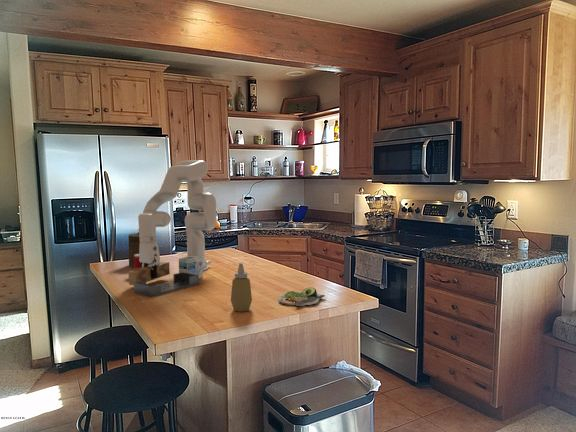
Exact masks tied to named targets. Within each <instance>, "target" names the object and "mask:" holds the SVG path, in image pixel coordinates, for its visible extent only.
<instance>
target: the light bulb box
mask: <svg viewBox="0 0 576 432" xmlns="http://www.w3.org/2000/svg"><path fill="white" fill-rule="evenodd" d="M181 272H184V273H190V274H195V275H199V279H201V278H203V277H204V276H203V275H204V274H203V272H204V271H203V257H200V256H194V255H193V256H189V257H187V256H185V257H179V258H178V273H181Z"/></svg>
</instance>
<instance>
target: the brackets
mask: <svg viewBox="0 0 576 432" xmlns="http://www.w3.org/2000/svg"><path fill="white" fill-rule="evenodd" d="M199 279H200V278H199V275H195V274H190V273H184V272H181V273H179V272H177V273H173V280H172V281H170V282H169V281H168V282H165V283H161V284H160V283H158V284H153V285H148V284H147V282H146V281H141V282H136V283H134V285H133V294H136V295H139V296H143V297H147V298H148V297H149V298H155V297H158V296H161V295H165V294H170V293H172V292H176V291H179V290H184V289H188V288H191V287H196V286H198V285H200V281H199Z"/></svg>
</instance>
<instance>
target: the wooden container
mask: <svg viewBox="0 0 576 432" xmlns="http://www.w3.org/2000/svg"><path fill="white" fill-rule="evenodd" d="M139 246H140V238H139V228H138V232H136V233H130V234H128V266H129V267H131V268H134V269H135V266H134V255H135V254H139ZM153 263H154V262H153Z"/></svg>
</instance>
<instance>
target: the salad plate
mask: <svg viewBox="0 0 576 432" xmlns="http://www.w3.org/2000/svg"><path fill="white" fill-rule="evenodd" d="M323 297H326V296H325V294H319V293H318V292H317V289H316V288H315V287H310V286H309V287H307V288H305V289H303V290H302V291H301V292H300V291H294V290H291V291H285V292H284V293H282V294H281V296H280V297H279V298H278V300H277V301H278V302H279V303H281V304H282V305H284V304H286V305H285V306H288V305H296V306H295V307H306V306H305V305H309V306H313V304H314V305H316V304H318V303H319V301H320V300H321V299H322V298H323ZM284 298H286V299H285V300H287V299H290V300H289V301H291V300H292V301H291V302H292V303H291V302H287V301H285V302H284V301H283V299H284ZM293 302H295V303H293Z"/></svg>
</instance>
